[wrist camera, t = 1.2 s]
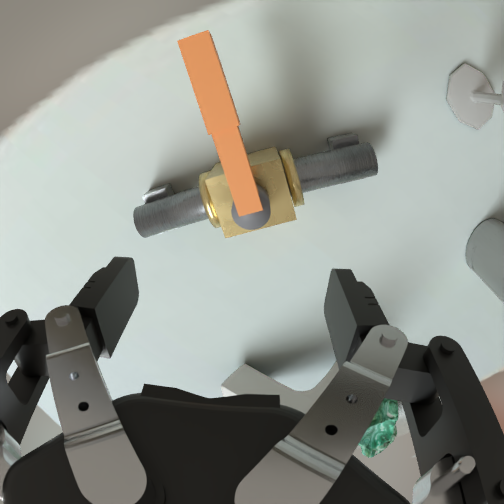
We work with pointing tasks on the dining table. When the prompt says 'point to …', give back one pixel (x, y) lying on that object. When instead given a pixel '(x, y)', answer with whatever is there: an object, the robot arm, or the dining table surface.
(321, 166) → the valve
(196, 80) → the lever
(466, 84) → the wineglass
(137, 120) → the dining table surface
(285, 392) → the faucet
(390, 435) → the mineral
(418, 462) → the robot arm
